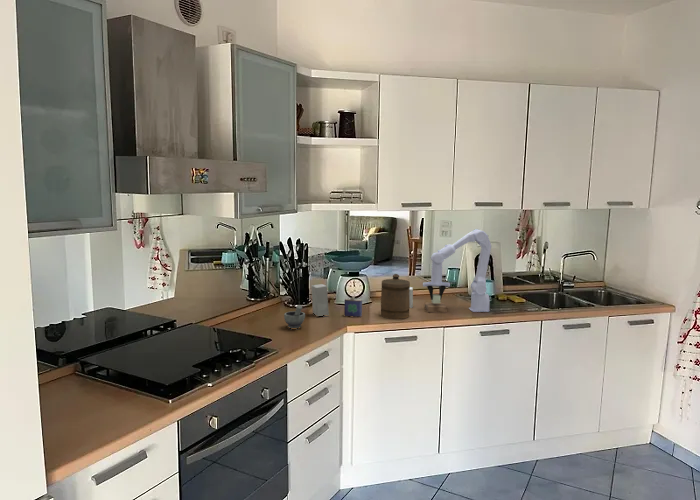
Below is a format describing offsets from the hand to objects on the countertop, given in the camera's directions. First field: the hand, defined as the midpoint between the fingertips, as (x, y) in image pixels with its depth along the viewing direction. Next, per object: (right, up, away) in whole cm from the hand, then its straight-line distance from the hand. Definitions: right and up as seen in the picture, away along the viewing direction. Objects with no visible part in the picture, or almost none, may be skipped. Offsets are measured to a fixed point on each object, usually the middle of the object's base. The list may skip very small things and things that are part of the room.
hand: (435, 299), depth 293 cm
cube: (0, -2, 0) cm, 2 cm away
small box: (-16, -5, +9) cm, 19 cm away
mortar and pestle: (-73, -10, -37) cm, 82 cm away
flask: (-45, -8, -14) cm, 48 cm away
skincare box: (-62, -7, -13) cm, 64 cm away
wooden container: (-23, -8, -12) cm, 27 cm away
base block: (0, -6, +1) cm, 6 cm away
